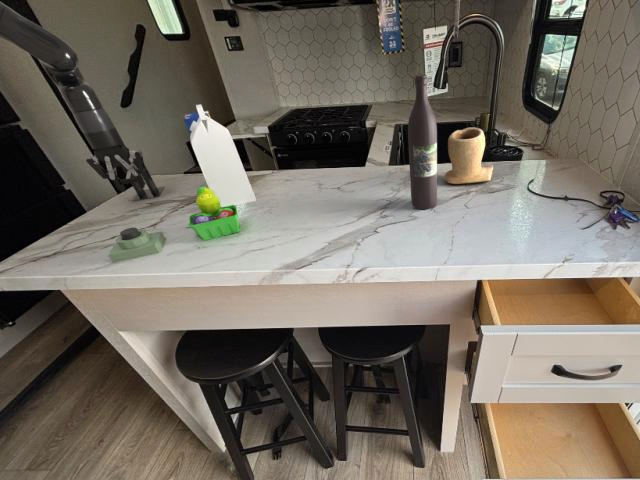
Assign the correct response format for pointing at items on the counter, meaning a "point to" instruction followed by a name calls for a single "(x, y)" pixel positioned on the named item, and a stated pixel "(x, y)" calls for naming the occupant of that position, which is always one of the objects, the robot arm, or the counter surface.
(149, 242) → the control block
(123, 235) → the button
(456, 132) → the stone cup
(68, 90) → the robot arm
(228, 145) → the milk
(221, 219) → the fruit basket
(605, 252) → the counter surface
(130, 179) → the lever
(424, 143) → the wine bottle
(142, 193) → the bracket
